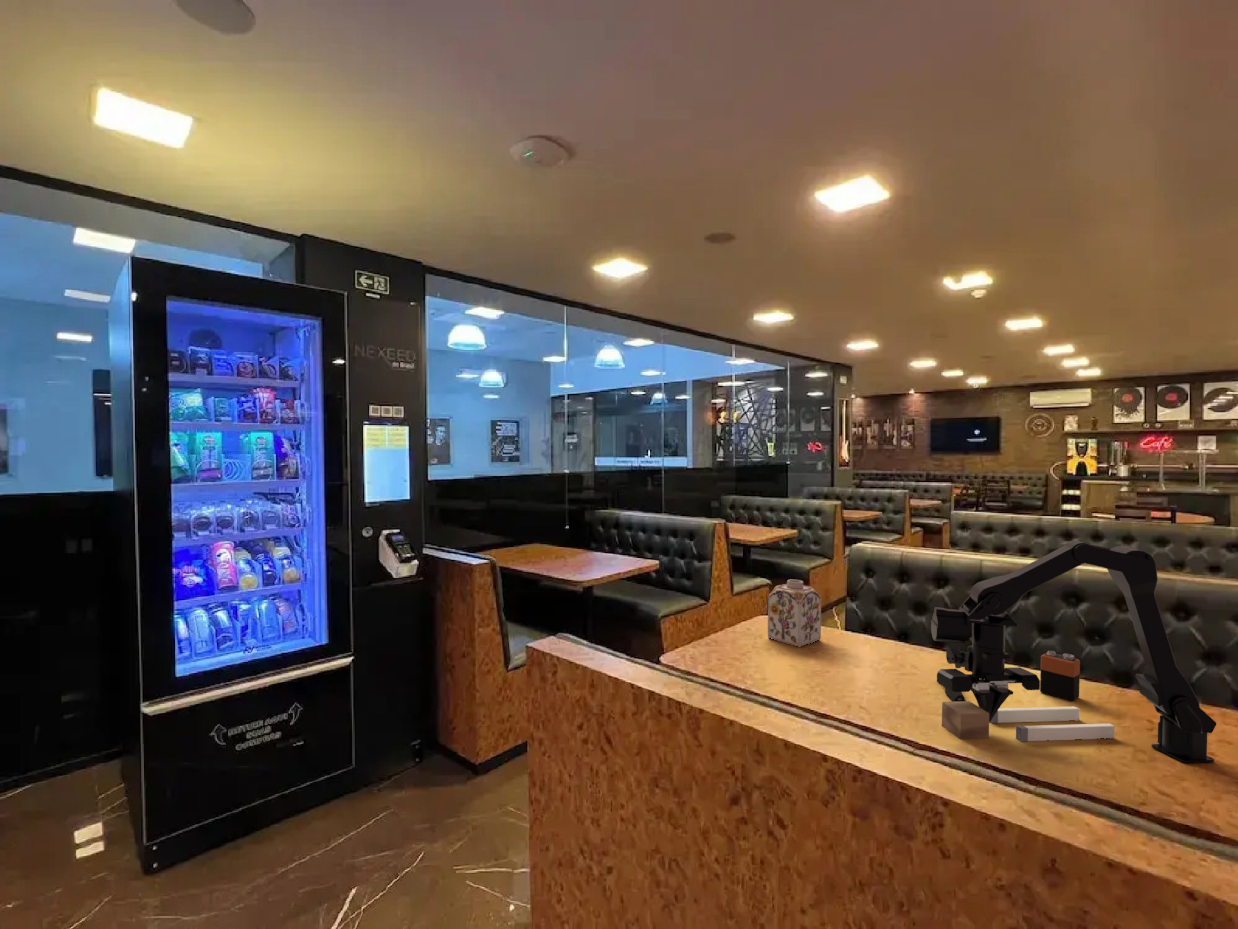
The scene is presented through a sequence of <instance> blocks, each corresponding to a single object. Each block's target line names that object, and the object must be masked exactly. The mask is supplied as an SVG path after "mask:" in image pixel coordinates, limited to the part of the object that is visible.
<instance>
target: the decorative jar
mask: <svg viewBox="0 0 1238 929" xmlns="http://www.w3.org/2000/svg"><path fill="white" fill-rule="evenodd" d="M767 603H768V604H767V609H768V610H767V638H768V639H769V638H772V639H774V640H773V641H775V640H777V641H776V642H779V641H780V642H779V643H782V642H783V643H782V644H785V643H786V645H789V644H792V645H791V646H793V645H795V646H794V647H796V646H798V647H797V648H802V647H805V646H807V645H806V644H808V645H811V644H814V643H816V642H815V641H817V640H820V639H821V638H822V636H821V633H822V596H821V595H820V594H819V593H818V591H817V590H816V589H815V588H813V587H812V586H809V585H805V584H804V581H803V580H801V579H791V578H790V579H788V580H787V581H786V583H785V584H784V583H783V584H779V585H776V586H775V587H774V588H773V589H772V591H770V593H768V602H767ZM820 641H821V640H820ZM813 642H814V643H813ZM817 642H818V641H817ZM810 643H811V644H810ZM804 645H805V646H804ZM801 646H802V647H801Z"/></svg>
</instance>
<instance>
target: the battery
mask: <svg viewBox="0 0 1238 929" xmlns="http://www.w3.org/2000/svg"><path fill="white" fill-rule="evenodd" d="M1039 673H1040V675H1039V676H1040V678H1039V680H1040V690H1039V691H1040V693H1041V694H1044V693H1045V695H1047V694H1048V696H1051V695H1052V696H1053V697H1055V698H1058V697H1059V699H1063V700H1066V699H1067V700H1066V701H1069V700H1070V702H1074V701H1075V700H1077V699H1078V698H1080V683H1081V682H1080V681H1081V680H1080V676H1081V660H1080V659H1079V658H1076V657H1075V655H1073V654H1069V653H1063V654H1058V653H1056V651H1054V650H1047V652H1046V653H1044V654H1042V655H1040V672H1039ZM1052 696H1051V697H1052Z"/></svg>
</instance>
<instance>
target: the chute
mask: <svg viewBox="0 0 1238 929" xmlns="http://www.w3.org/2000/svg"><path fill="white" fill-rule="evenodd" d="M1069 720H1075V721H1080V708H1079V707H1077V706H1047V707H1046V706H1042V707H1041V706H1039V707H1037V706H1036V707H1008V708H1003V707H1002V708H999V709H998V711H997V712H996V714H995V715H994V717H993V718H992V720H991V721H990V722H989V723H991V724H999V723H1000V724H1001V723H1003V724H1004V723H1006V724H1007V723H1029V722H1030V723H1034V722H1063V721H1065V722H1066V721H1067V722H1070V721H1069ZM1097 738H1098V739H1097ZM1100 738H1104V739H1103V740H1105V739H1106V738H1110V739H1111V738H1113V739H1115V725H1114V724H1112V723H1109V722H1108V723H1085V724H1083V723H1081V724H1080V723H1078V724H1077V723H1076V724H1048V725H1047V724H1046V725H1045V724H1044V725H1043V724H1042V725H1020V724H1019V725H1015V739H1016V740H1018V741H1019V742H1021V743H1024V742H1026V743H1027V742H1041V741H1042V742H1043V741H1044V742H1046V741H1047V740H1049V741H1073V740H1074V741H1076V740H1075V739H1082V740H1101V739H1100ZM1110 739H1109V740H1110ZM1111 740H1112V739H1111ZM1049 741H1048V742H1049Z"/></svg>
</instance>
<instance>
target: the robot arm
mask: <svg viewBox="0 0 1238 929" xmlns="http://www.w3.org/2000/svg"><path fill="white" fill-rule="evenodd" d="M1084 564H1086V565H1087V564H1088V565H1092V566H1096V567H1100V568H1103V569H1107V571H1108V573H1109V575H1110V577H1111V579H1112V581H1113V582H1114V583H1115V585H1117V587H1118V588H1119V590H1120V591H1121V593H1122V594H1123V596H1124V599H1125V603H1126V606H1127V608H1128V612H1129V615H1130V618H1131V622H1132V626H1133V629H1134V632H1135V636H1136V639H1137V641H1138V644H1139V648H1140V652H1141V654H1142V658H1143V661H1144V665H1145V666H1144V670H1143V673H1136V674H1135V678H1136V680H1137V682H1138V684H1139V688H1140V689H1139V694H1140V695H1142V696H1144V697H1145V698H1146V700H1147V701H1148V702H1150V703H1151V704H1152V705H1153V707H1154V710H1155V711H1156V713H1157V714H1160V715H1159V722H1157V743H1152V744H1151V748H1152V749H1153V748H1154V749H1155V750H1157V751H1159V752H1161V753H1162V754H1164V755H1167V756H1168V757H1170V758H1173V759H1175V760H1177V761H1178V762H1180V763H1184V764H1188V763H1189V764H1191V763H1192V764H1193V763H1195V764H1196V763H1214V762H1215V758H1213V757H1211V756H1209V755H1208V753H1207V752H1208V734H1212V733H1213V732H1214V730H1215V728H1216V725H1217V722H1216V721H1215V720H1214V719H1213V718H1212V717H1210V715H1208V714H1207V713H1206V712H1205V711H1204V710H1203V709H1202V708H1201V706H1200V700H1199V699H1198V697H1197V695H1196V693H1195V691H1194V689H1193V688H1192V686H1191V684H1190V683H1189V681H1188V680H1187V678H1186V677H1185V676H1184V675H1183V673H1182V672H1181V671H1180V669H1179V668H1178V666H1177V662H1176V659H1175V657H1174V653H1173V650H1172V646H1171V644H1170V640H1169V636H1168V633H1167V630H1166V628H1165V624H1164V621H1163V617H1162V615H1161V610H1160V608H1159V604H1158V602H1157V597H1156V594H1155V593H1156V589H1157V585H1158V582H1159V581H1158V580H1159V578H1158V577H1159V576H1158V568H1157V562H1156V560H1155V558H1154V557H1153V556H1152V555H1151V554H1150V553H1147V552H1146V551H1144V550H1140V549H1136V548H1132V547H1128V546H1125V545H1118V546H1114V547H1112V548H1109V547H1103V546H1100V545H1095V544H1089V543H1086V542H1082V541H1080V540H1070V541H1068V542H1066V543H1065V545H1063V546H1061V547H1059V548H1057V549H1056V550H1053V551H1051V552H1049V553H1048V554H1046V555H1044V556H1042V557H1040V558H1038V559H1036V560H1035V561H1032V562H1030V563H1029V564H1026V565H1025V566H1023V567H1021V568H1019V569H1017V570H1015V571H1013V572H1010V573H1008V574H1004V575H1000V576H999V575H998V576H993V577H991V578H987V579H984V580H981V581H978V582H976V583H975V584H974V585H972V587H971V590H970V595H969V596H968V597H967V598H966V599H965V601H964V602H963V603H962V604H961V605H960V606H959V607H958V609H954V608H944V607H938V606H935V607H934V608H933V609H934V612H933V614H932V618H931V620H930V630H931V636H932V640H933V641H936V642H946V643H955V644H956V643H957V644H958V643H959V644H965V643H966V642H969V641H970V639H971V638H972V640H971V641H972V645H968V646H967V648H966V649H967V650H966V652H961V650H960V648H958V647H956V648H955V647H953V648H949V647H947V648H946V650H945V651H946V653H945V654H946V655H945V658H946V663H948V664H949V665H953V664H954V667H955V668H941V669H939V670H938V671H937V673H936V682H937V683H938V684H940V686H941V685H942V686H943V687H944V686H945V687H946V688H948V689H950V690H951V691H954V692H962V693H969V692H972V693H973V694H972V695H973V696H974V698H975V700H976V703H977V706H978V707H980V708H981V709H983V710H985V711H986V712H988V713H989V723H991V722H990V721H991V720H992V718H993V717H994V715H995V714H996V712H997V711H998V709H999V708H1000V707H1002V705H1003V704H1004V702H1005V701H1006V700H1007V699H1008V698H1009V696H1011V695H1014V691H1013V690H1011V689H1009V684H1021V686H1022V688H1023V689H1025V690H1027V691H1040V678H1039V676H1038V675H1037V674H1036V673H1034V672H1031V671H1029V670H1027V669H1025V668H1022V667H1019V666H1018V667H1006V666H1005V665H1006V664H1005V661H1006V660H1010V655H1011V654H1010V653H1008V652H1006V627H1016V628H1017V627H1018V626H1019V624H1018V623H1017V621H1015V620H1014V619H1013V618H1012V617H1011V616H1010V614H1009V613H1008V610H1010V609H1011V608H1013V606H1015V605H1016V604H1018V602H1019V601H1021V599H1022V598H1023V596H1025V595H1026V594H1027V593H1029V592H1030V591H1032V590H1035V589H1036V588H1039V587H1040V586H1042V585H1044V584H1046V583H1048V582H1050V581H1052V580H1054V579H1056V578H1058V577H1060V576H1061V575H1064V574H1066V573H1067V572H1070V571H1072V570H1074V569H1076V568H1077V567H1079V566H1081V565H1084ZM961 668H964V670H965V671H966V672H970V673H971V674H969V673H968V674H967V673H965V672H962V671H961V670H959V669H961Z"/></svg>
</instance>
